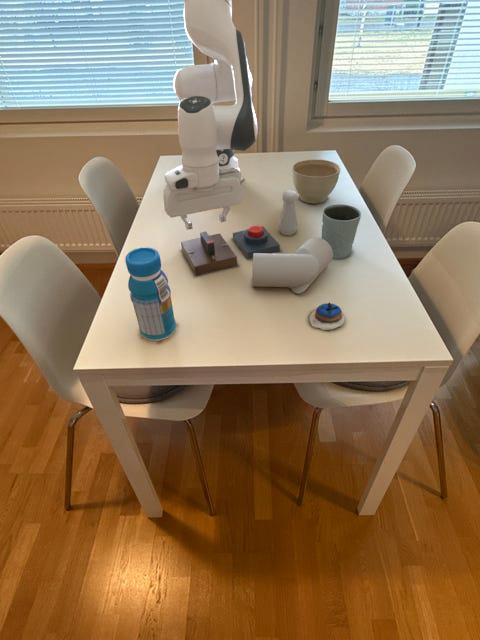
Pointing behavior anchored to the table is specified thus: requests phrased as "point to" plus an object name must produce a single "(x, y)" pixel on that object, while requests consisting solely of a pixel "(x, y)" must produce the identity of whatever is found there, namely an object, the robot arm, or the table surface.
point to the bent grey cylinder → (292, 266)
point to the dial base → (202, 260)
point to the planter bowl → (315, 179)
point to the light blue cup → (340, 228)
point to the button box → (255, 243)
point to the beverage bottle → (150, 294)
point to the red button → (255, 231)
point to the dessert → (327, 317)
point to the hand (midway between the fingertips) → (206, 224)
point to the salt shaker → (288, 213)
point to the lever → (207, 243)
